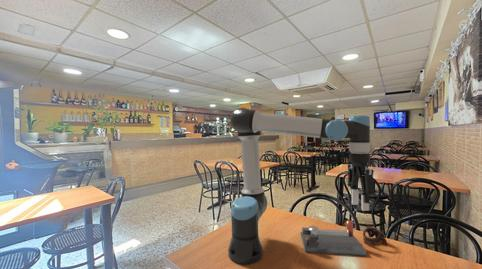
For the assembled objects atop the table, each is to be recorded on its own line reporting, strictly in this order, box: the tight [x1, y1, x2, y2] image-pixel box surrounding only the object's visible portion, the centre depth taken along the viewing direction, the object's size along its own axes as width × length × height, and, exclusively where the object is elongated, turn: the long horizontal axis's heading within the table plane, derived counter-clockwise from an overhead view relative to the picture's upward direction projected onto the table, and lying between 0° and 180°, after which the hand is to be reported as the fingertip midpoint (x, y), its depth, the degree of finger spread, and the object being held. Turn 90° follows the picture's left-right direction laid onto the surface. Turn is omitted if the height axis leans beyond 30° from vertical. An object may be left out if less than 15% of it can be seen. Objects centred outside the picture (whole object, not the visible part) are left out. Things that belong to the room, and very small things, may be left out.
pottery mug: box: [362, 225, 388, 246], centre depth 98 cm, size 12×10×8 cm
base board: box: [300, 231, 367, 257], centre depth 96 cm, size 25×14×7 cm, turn 82°
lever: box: [301, 219, 354, 241], centre depth 96 cm, size 22×4×9 cm, turn 82°
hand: (360, 207), depth 87 cm, fingers open, 6 cm apart
